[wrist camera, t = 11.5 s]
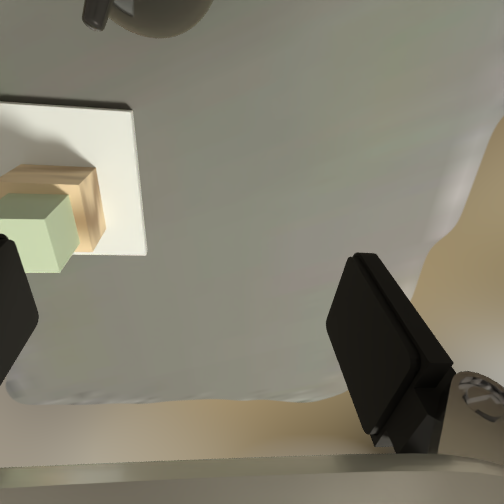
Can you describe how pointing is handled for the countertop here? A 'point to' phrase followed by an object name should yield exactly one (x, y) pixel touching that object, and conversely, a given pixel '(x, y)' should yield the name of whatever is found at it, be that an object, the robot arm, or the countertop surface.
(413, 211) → the countertop surface
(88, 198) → the oak block
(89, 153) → the building board
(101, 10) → the pump dispenser
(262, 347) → the countertop surface
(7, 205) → the sage cube
